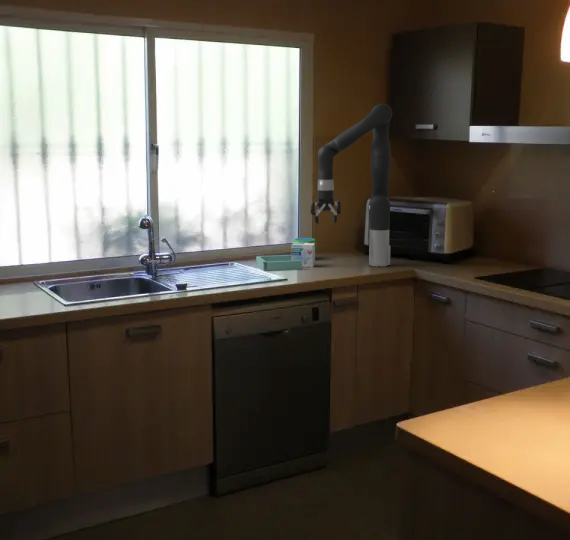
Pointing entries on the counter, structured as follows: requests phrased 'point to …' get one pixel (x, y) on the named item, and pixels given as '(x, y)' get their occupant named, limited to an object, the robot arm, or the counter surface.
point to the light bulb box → (303, 253)
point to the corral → (278, 263)
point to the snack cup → (306, 241)
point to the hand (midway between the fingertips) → (325, 223)
